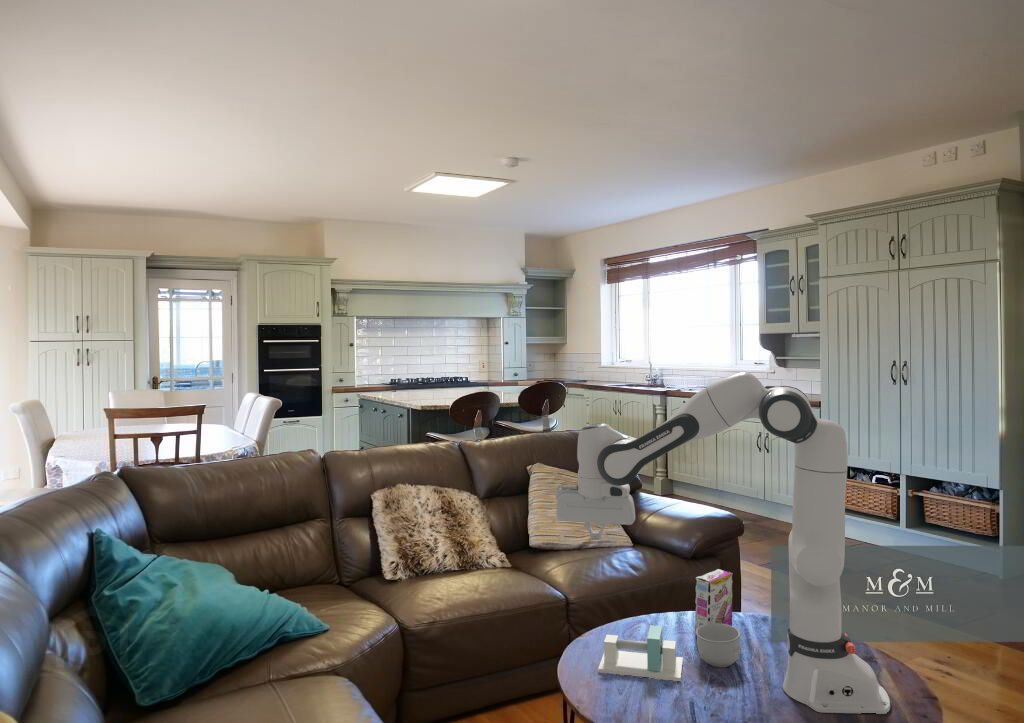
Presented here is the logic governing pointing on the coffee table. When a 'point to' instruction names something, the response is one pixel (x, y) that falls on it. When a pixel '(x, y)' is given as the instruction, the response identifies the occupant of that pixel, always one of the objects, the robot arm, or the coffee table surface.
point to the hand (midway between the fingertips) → (595, 539)
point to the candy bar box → (713, 598)
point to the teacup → (718, 644)
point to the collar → (654, 648)
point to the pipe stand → (639, 659)
